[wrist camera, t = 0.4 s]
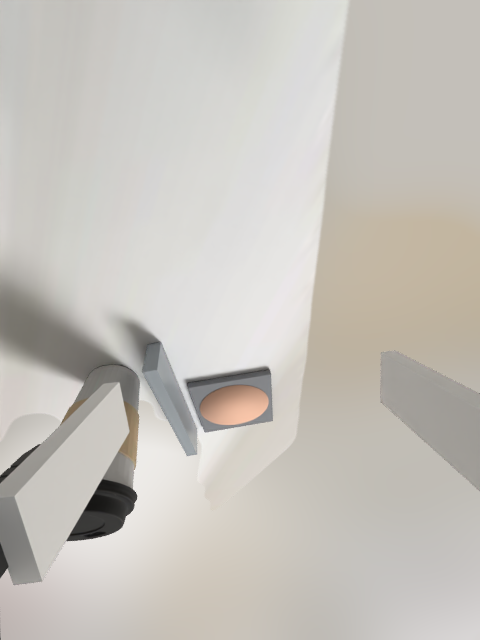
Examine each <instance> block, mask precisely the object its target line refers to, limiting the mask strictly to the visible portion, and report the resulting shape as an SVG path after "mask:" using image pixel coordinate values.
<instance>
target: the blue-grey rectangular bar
mask: <svg viewBox="0 0 480 640" xmlns="http://www.w3.org/2000/svg"><path fill="white" fill-rule="evenodd" d="M142 373H143V374H144V376H145V378H146V380H147V382H148V384H149V386H150V388H151V389H152V391H153V393H154V395H155V397H156V399H157V401H158V402H159V404H160V406H161V408H162V410H163V412H164V414H165V416H166V417H167V419H168V421H169V423H170V425H171V427H172V429H173V430H174V432H175V434H176V436H177V438H178V440H179V442H180V444H181V445H182V447H183V449H184V451H185V453H186V455H187V456H190V455H196V454H197V428H196V425H195V423H194V421H193V418H192V416H191V413H190V411H189V409H188V406H187V404H186V401H185V399H184V396H183V394H182V392H181V389H180V387H179V384H178V382H177V380H176V377H175V375H174V372H173V370H172V368H171V365H170V363H169V360H168V358H167V355H166V353H165V351H164V348H163V346H162V343H161V342H159V343H153V344H148V346H147V351H146V356H145V361H144V366H143V371H142Z"/></svg>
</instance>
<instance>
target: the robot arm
mask: <svg viewBox="0 0 480 640" xmlns="http://www.w3.org/2000/svg"><path fill="white" fill-rule="evenodd" d="M380 394H381V396H380V402H381V403H382V404H383V405H384V406H385V407H387V408H388V409H389V410H390V411H391V412H392V413H393V414H394V415H396V416H397V417H398V418H399V419H400V420H401V421H402V422H403V423H404V424H406V425H407V426H408V427H409V428H410V429H411V430H412V431H413V432H414V433H416V434H417V435H418V436H419V437H420V438H421V439H422V440H423V441H424V442H426V443H427V444H428V445H429V446H430V447H431V448H432V449H433V450H434V451H436V452H437V453H438V454H439V455H440V456H441V457H442V458H443V459H444V460H446V461H447V462H448V463H449V464H450V465H451V466H453V468H454V469H456V470H457V471H458V472H459V473H460V474H461V475H462V476H463V477H464V478H466V479H467V480H468V481H469V482H470V483H471V484H472V485H474V486H475V487H476V488H477V489H478V490H479V491H480V393H477V392H476V391H473V390H472V389H470V388H468V387H466V386H464V385H462V384H460V383H458V382H456V381H454V380H452V379H450V378H448V377H446V376H444V375H442V374H440V373H438V372H437V371H435V370H433V369H430V368H429V367H427V366H425V365H423V364H421V363H419V362H417V361H415V360H413V359H411V358H409V357H407V356H405V355H403V354H401V353H399V352H397V351H388V352H381V391H380ZM129 432H130V431H129V426H128V421H127V416H126V412H125V407H124V402H123V397H122V392H121V388H120V383H119V382H114V383H105V384H103V385H102V386H101V387H100V388H99V389H98V390H97V391H95V392H94V393H93V394H92V395H91V396H90V397H89V398H88V399H87V400H86V401H85V402H84V403H83V404H82V405H81V406H80V407H79V408H78V409H77V410H76V411H75V412H74V413H73V414H72V415H71V416H70V417H69V418H68V419H67V420H65V421H64V422H63V423H62V424H61V425H60V426H59V427H58V428H57V429H56V430H55V431H54V432H53V433H52V434H51V435H50V436H49V437H48V438H47V439H46V440H45V441H44V442H43V443H42V444H39V445H37V446H35V447H34V448H32V449H31V450H29V451H28V452H26V453H25V454H23V455H22V456H21V457H20V458H19V459H18V460H17V461H16V462H14V463H13V464H12V465H11V467H10V468H8V469H7V470H6V471H5V472H4V473H3V474H2V475H1V476H0V578H1V576H2V575H3V574H4V572H5V571H6V569H7V568H8V570H9V573H10V576H11V579H12V582H13V585H19V584H27V583H34V582H42V581H43V580H44V578H45V576H46V574H47V573H48V571H49V569H50V568H51V566H52V564H53V562H54V561H55V559H56V557H57V556H58V554H59V552H60V550H61V549H62V547H63V545H64V544H65V542H66V540H67V538H68V537H69V535H70V533H71V532H72V530H73V528H74V526H75V525H76V523H77V521H78V520H79V518H80V516H81V514H82V513H83V511H84V509H85V507H86V506H87V504H88V502H89V501H90V499H91V497H92V495H93V494H94V492H95V490H96V489H97V487H98V485H99V483H100V482H101V480H102V478H103V477H104V475H105V473H106V471H107V470H108V468H109V466H110V465H111V463H112V461H113V459H114V458H115V456H116V454H117V453H118V451H119V449H120V447H121V446H122V444H123V442H124V440H125V439H126V437H127V435H128V434H129ZM0 639H1V638H0Z"/></svg>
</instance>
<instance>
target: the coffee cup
mask: <svg viewBox="0 0 480 640" xmlns="http://www.w3.org/2000/svg"><path fill="white" fill-rule="evenodd" d="M114 382H119V383H120V388H121V392H122V397H123V402H124V407H125V412H126V416H127V421H128V426H129V431H130V432H129V434H128V435H127V437H126V439H125V440H124V442H123V444H122V446H121V447H120V449H119V451H118V453H117V454H116V456H115V458H114V459H113V461H112V463H111V465H110V466H109V468H108V470H107V471H106V473H105V475H104V477H103V478H102V480H101V482H100V483H99V485H98V487H97V489H96V490H95V492H94V494H93V495H92V497H91V499H90V501H89V502H88V504H87V506H86V507H85V509H84V511H83V513H82V514H81V516H80V518H79V520H78V521H77V523H76V525H75V526H74V528H73V530H72V532H71V533H70V535H69V537H68V538H67V540H66V541H77V540H86V539H93V538H98V537H102V536H106V535H109V534H112V533H114V532H116V531H118V530H119V529H121V528H122V526H123V524H124V521H125V517H126V516H127V515H128V514H130V513H131V512H132V511H133V509H134V503H135V501H136V500H137V494H136V492H135V491H134V490H133V476H134V470H135V467H136V456H137V441H138V424H139V414H138V404H139V403H138V402H139V388H140V381H139V378H138V376H137V375H136V374H135V373H134V372H133V371H132V370H130V369H128V368H126V367H123V366H120V365H106V366H102V367H99V368H96V369H95V370H93V371H92V372H91V373H90V374H89V376H88V378H87V380H86V381H85V383H84V385H83V387H82V389H81V391H80V392H79V394H78V396H77V398H76V400H75V402H74V404H73V405H72V406H71V407H70V408H69V410H68V411H67V413H66V415H65V417H64V419H63V421H62V423H63V422H64V421H65V420H67V419H68V418H69V417H70V416H71V415H72V414H73V413H74V412H75V411H76V410H77V409H78V408H79V407H80V406H81V405H82V404H83V403H84V402H85V401H86V400H87V399H88V398H89V397H90V396H91V395H92V394H93V393H94V392H95V391H97V390H98V389H99V388H100V387H101V386H102V385H103V384H105V383H114ZM62 423H61V424H62ZM61 424H60V425H61Z"/></svg>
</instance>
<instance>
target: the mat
mask: <svg viewBox="0 0 480 640" xmlns="http://www.w3.org/2000/svg"><path fill="white" fill-rule="evenodd" d="M188 390H189V392H190V395H191V398H192V400H193V403H194V406H195V408H196V411H197V413H198V416H199V419H200V421H201V424H202V426H203V429H204V432H211V431H217V430H223V429H228V428H234V427H240V426H246V425H252V424H258V423H264V422H270V421H273V414H272V388H271V373H270V370H265V371H258V372H252V373H246V374H240V375H234V376H228V377H222V378H216V379H210V380H204V381H198V382H192V383H188Z"/></svg>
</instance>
